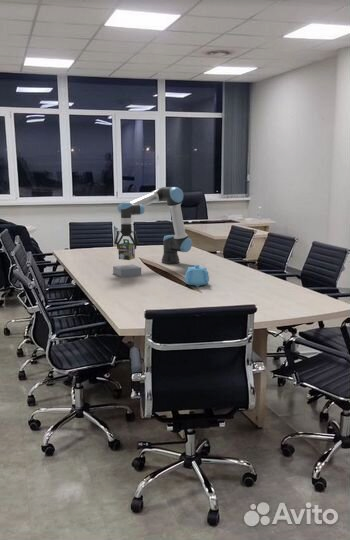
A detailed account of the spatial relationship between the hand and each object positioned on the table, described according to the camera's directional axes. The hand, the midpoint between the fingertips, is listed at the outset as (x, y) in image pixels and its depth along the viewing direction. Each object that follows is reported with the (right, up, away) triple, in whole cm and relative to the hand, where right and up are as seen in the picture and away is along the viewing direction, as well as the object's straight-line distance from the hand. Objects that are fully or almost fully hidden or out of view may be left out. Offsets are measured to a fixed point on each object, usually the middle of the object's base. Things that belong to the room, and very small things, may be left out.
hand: (126, 253), depth 363 cm
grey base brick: (0, -16, +3) cm, 16 cm away
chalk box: (0, -4, +1) cm, 4 cm away
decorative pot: (+50, -22, -31) cm, 63 cm away
